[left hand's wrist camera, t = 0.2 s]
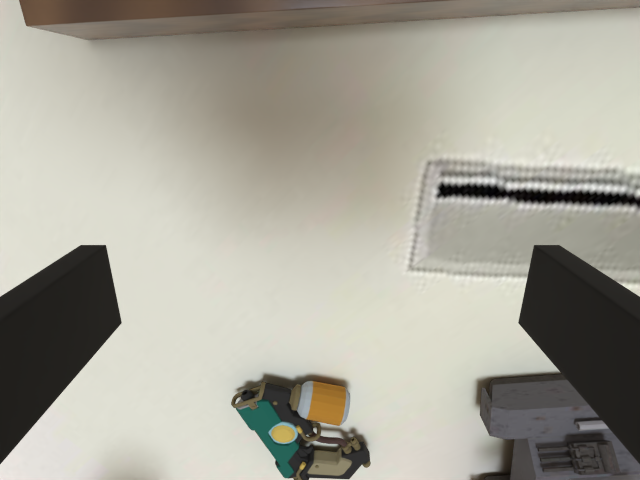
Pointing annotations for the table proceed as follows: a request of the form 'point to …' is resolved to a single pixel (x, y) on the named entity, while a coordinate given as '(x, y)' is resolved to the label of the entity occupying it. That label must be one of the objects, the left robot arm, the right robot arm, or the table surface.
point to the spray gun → (302, 428)
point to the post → (265, 14)
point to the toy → (553, 432)
